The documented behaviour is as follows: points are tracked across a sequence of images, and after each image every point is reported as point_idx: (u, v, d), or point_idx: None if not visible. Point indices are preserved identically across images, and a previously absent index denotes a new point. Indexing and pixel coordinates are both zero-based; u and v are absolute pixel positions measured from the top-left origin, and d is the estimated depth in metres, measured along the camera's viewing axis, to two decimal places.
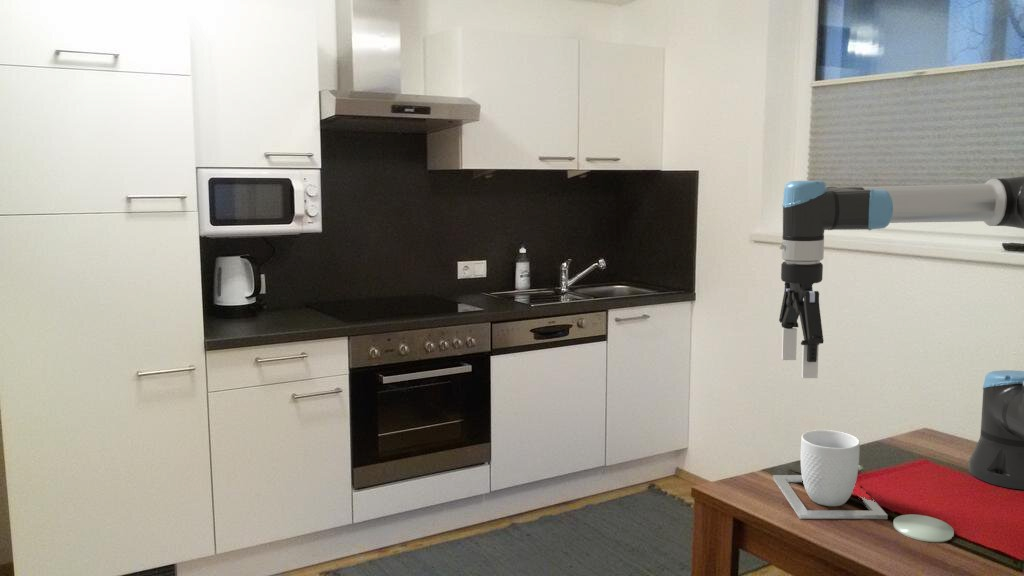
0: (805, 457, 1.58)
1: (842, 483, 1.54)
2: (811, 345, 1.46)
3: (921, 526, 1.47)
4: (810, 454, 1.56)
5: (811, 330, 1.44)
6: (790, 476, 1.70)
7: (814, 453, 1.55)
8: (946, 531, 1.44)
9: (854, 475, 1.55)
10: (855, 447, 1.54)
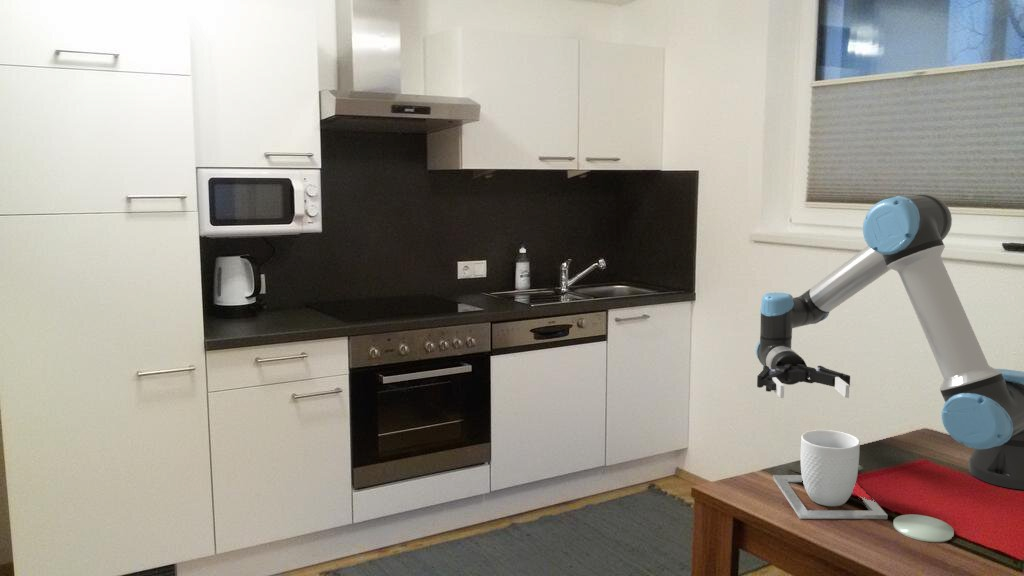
0: (805, 457, 1.58)
1: (842, 483, 1.54)
2: (765, 384, 1.75)
3: (921, 526, 1.47)
4: (810, 454, 1.56)
5: None
6: (790, 476, 1.70)
7: (814, 453, 1.55)
8: (946, 531, 1.44)
9: (854, 475, 1.55)
10: (855, 447, 1.54)
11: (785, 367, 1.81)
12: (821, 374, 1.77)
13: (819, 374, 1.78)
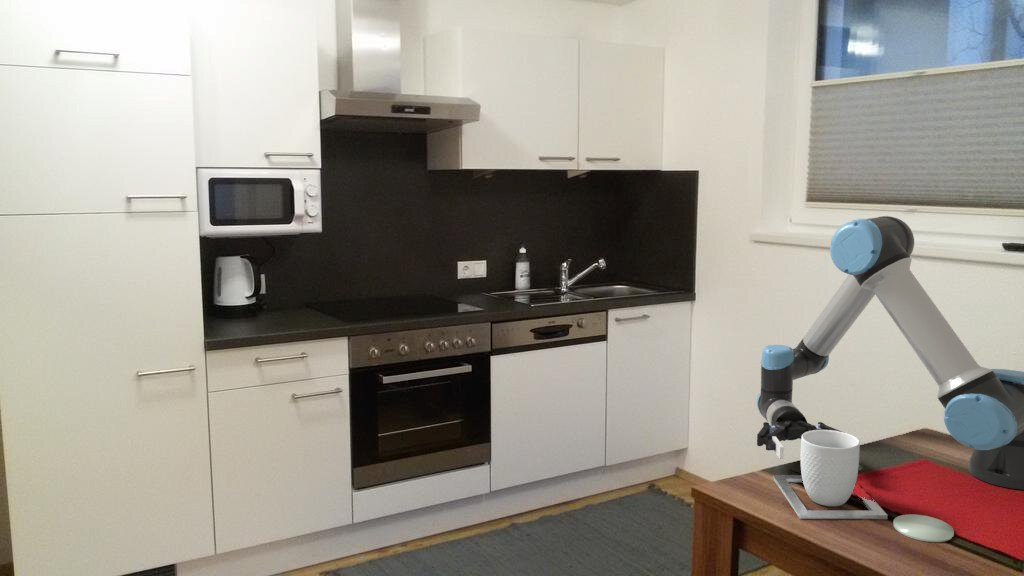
0: (805, 457, 1.58)
1: (842, 483, 1.54)
2: (765, 443, 1.75)
3: (921, 526, 1.47)
4: (810, 454, 1.56)
5: None
6: (790, 476, 1.70)
7: (814, 453, 1.55)
8: (946, 531, 1.44)
9: (854, 475, 1.55)
10: (855, 447, 1.54)
11: (785, 424, 1.81)
12: None
13: None
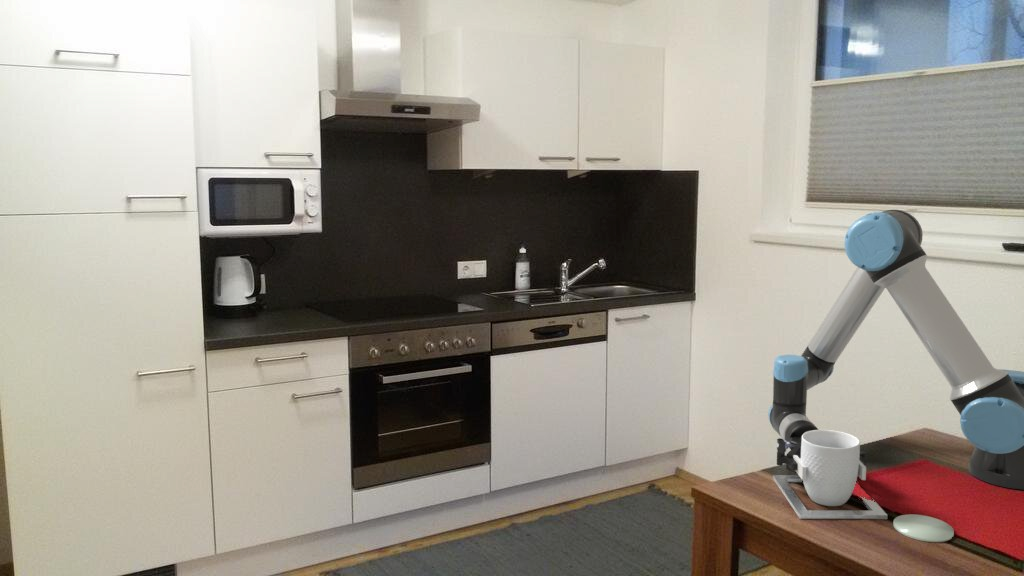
0: (805, 457, 1.58)
1: (842, 483, 1.54)
2: (786, 462, 1.63)
3: (921, 526, 1.47)
4: (810, 454, 1.56)
5: None
6: (790, 476, 1.70)
7: (814, 453, 1.55)
8: (946, 531, 1.44)
9: (854, 475, 1.55)
10: (855, 447, 1.54)
11: (801, 440, 1.70)
12: None
13: None
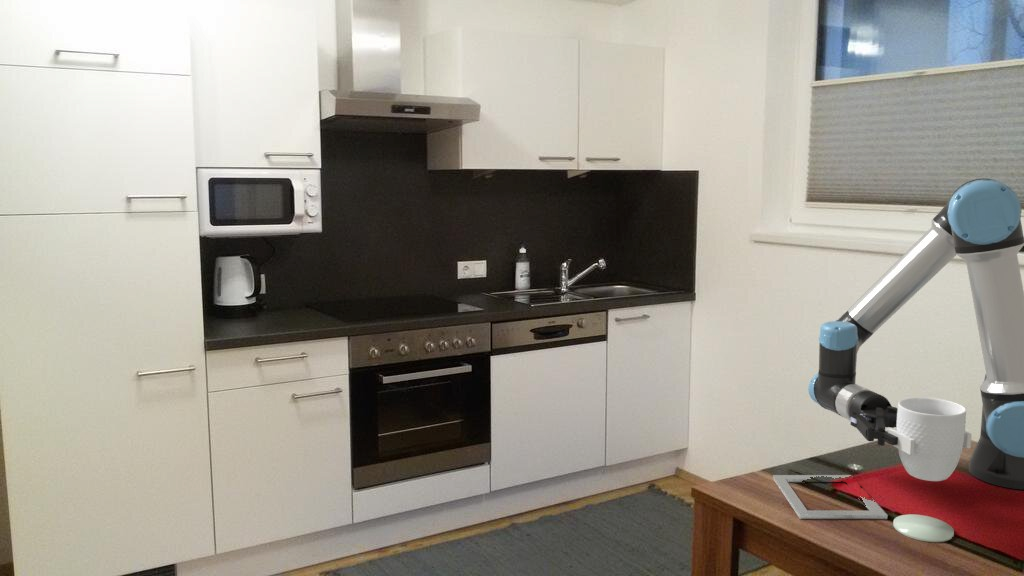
0: (910, 429, 1.40)
1: (954, 454, 1.39)
2: (879, 437, 1.46)
3: (921, 526, 1.47)
4: (919, 425, 1.39)
5: (864, 434, 1.48)
6: (790, 476, 1.70)
7: (924, 423, 1.38)
8: (946, 531, 1.44)
9: (963, 443, 1.40)
10: (965, 412, 1.39)
11: (879, 412, 1.53)
12: None
13: None
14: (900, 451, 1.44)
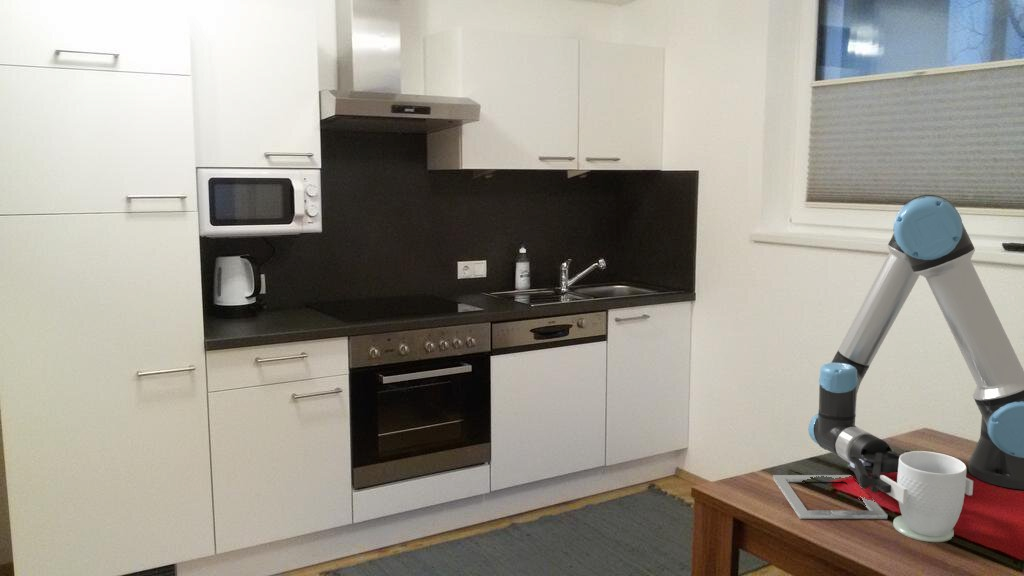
0: (911, 486, 1.41)
1: (955, 511, 1.40)
2: (872, 484, 1.47)
3: None
4: (920, 482, 1.40)
5: (858, 480, 1.50)
6: (790, 476, 1.70)
7: (925, 481, 1.39)
8: None
9: (963, 500, 1.41)
10: None
11: (878, 458, 1.54)
12: None
13: None
14: (901, 506, 1.45)
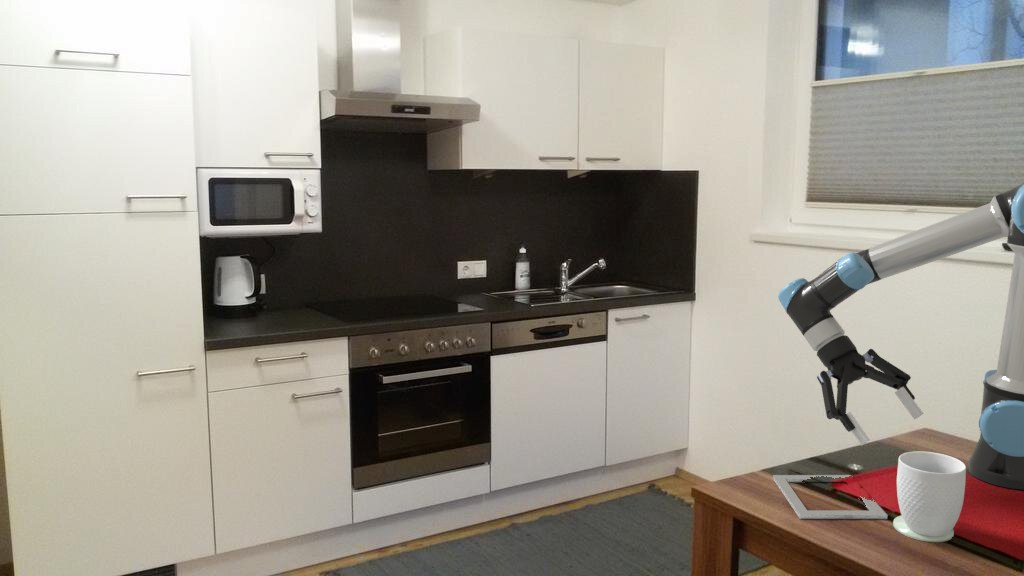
0: (911, 485, 1.41)
1: (954, 511, 1.40)
2: (838, 418, 1.62)
3: None
4: (919, 482, 1.40)
5: (826, 407, 1.63)
6: (790, 476, 1.70)
7: (925, 481, 1.39)
8: None
9: None
10: (965, 470, 1.40)
11: (846, 375, 1.64)
12: (882, 377, 1.65)
13: (879, 377, 1.65)
14: (901, 506, 1.45)
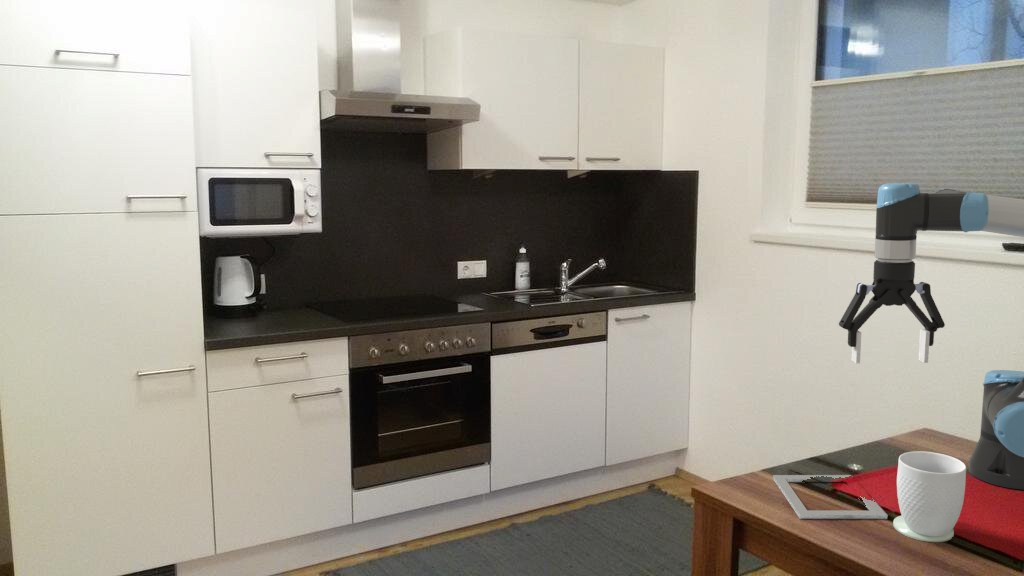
0: (911, 485, 1.41)
1: (955, 511, 1.40)
2: None
3: None
4: (919, 482, 1.40)
5: (844, 315, 1.63)
6: (790, 476, 1.70)
7: (925, 481, 1.39)
8: None
9: None
10: (965, 470, 1.40)
11: (883, 299, 1.59)
12: (916, 314, 1.60)
13: (915, 313, 1.60)
14: (901, 506, 1.45)
